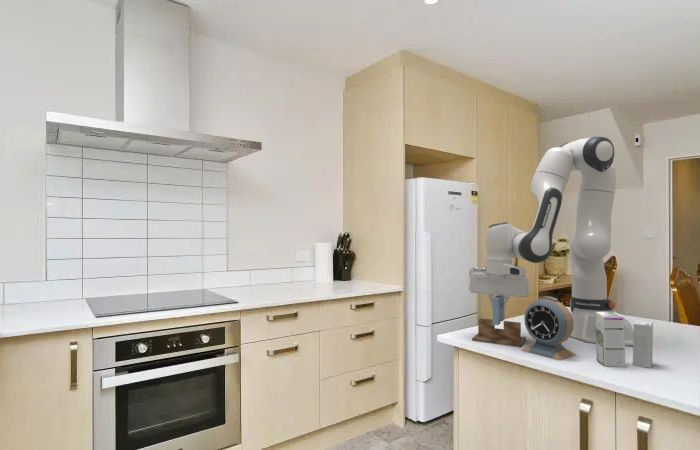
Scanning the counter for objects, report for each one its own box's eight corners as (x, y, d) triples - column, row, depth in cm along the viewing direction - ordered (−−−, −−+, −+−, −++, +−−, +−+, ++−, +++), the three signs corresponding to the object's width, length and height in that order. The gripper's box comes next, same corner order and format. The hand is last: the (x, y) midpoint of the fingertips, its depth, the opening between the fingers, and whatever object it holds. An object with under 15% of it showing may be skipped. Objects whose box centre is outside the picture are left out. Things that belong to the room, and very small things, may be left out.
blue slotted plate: (498, 325, 140) (498, 298, 140) (492, 324, 141) (492, 298, 141) (504, 319, 149) (504, 294, 149) (499, 319, 150) (499, 294, 150)
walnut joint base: (526, 339, 145) (525, 320, 145) (520, 347, 136) (520, 326, 136) (480, 333, 153) (479, 315, 154) (472, 340, 144) (472, 321, 144)
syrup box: (626, 367, 115) (625, 315, 116) (603, 366, 116) (602, 314, 117) (617, 361, 121) (616, 311, 121) (595, 360, 122) (595, 311, 122)
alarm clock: (518, 350, 132) (518, 295, 133) (535, 345, 138) (535, 292, 138) (563, 361, 121) (562, 301, 121) (579, 355, 127) (578, 298, 127)
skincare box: (634, 360, 122) (634, 319, 122) (653, 363, 119) (653, 321, 119) (632, 365, 117) (631, 322, 117) (651, 368, 114) (651, 325, 114)
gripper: (466, 267, 148) (466, 306, 147) (528, 270, 137) (528, 312, 137) (471, 266, 153) (471, 303, 153) (530, 269, 142) (530, 309, 142)
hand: (498, 307), depth 145 cm, fingers closed on blue slotted plate, 2 cm apart
